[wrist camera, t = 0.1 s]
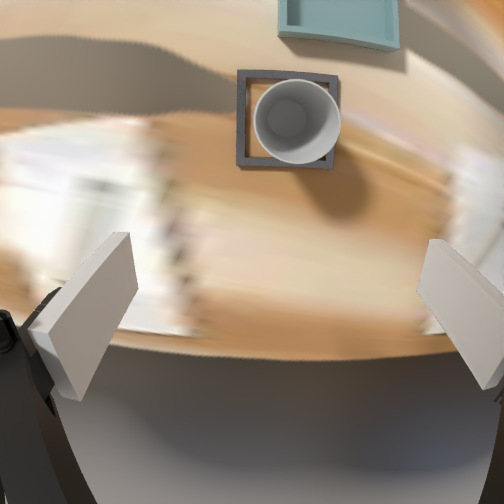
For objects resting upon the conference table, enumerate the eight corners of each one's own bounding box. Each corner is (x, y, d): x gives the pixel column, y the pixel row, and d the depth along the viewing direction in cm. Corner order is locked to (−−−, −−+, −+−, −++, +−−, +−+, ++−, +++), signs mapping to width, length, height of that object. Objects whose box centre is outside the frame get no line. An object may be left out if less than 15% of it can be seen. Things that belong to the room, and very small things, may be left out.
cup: (330, 133, 36) (354, 141, 27) (273, 161, 38) (279, 178, 29) (299, 76, 33) (315, 65, 24) (241, 105, 35) (236, 104, 26)
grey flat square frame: (237, 70, 33) (237, 69, 32) (336, 76, 33) (337, 75, 32) (236, 164, 38) (236, 165, 37) (331, 168, 38) (332, 169, 38)
